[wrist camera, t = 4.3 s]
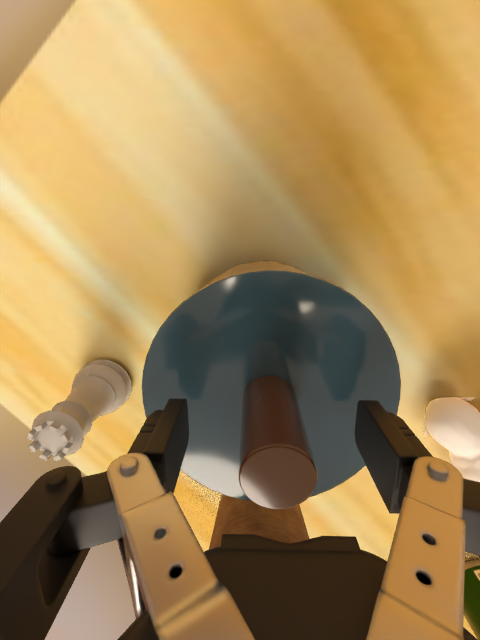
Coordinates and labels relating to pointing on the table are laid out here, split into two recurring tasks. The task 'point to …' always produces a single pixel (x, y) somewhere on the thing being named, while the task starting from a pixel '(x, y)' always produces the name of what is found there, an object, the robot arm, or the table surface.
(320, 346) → the lid
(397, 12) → the table surface
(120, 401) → the rook chess piece
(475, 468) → the white figurine
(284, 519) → the coffee cup
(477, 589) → the beer can
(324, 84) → the table surface
